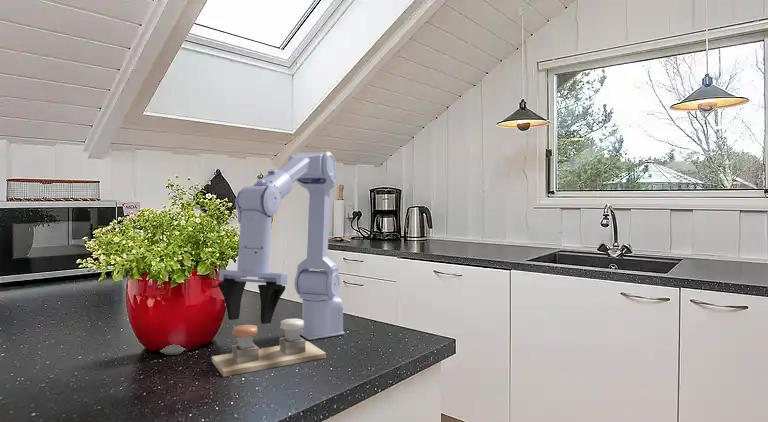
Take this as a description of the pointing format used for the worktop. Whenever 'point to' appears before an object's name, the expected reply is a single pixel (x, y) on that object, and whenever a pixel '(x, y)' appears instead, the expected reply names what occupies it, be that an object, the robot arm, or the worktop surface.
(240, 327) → the peach round domed part
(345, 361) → the worktop surface
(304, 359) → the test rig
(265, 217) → the robot arm
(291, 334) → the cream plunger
